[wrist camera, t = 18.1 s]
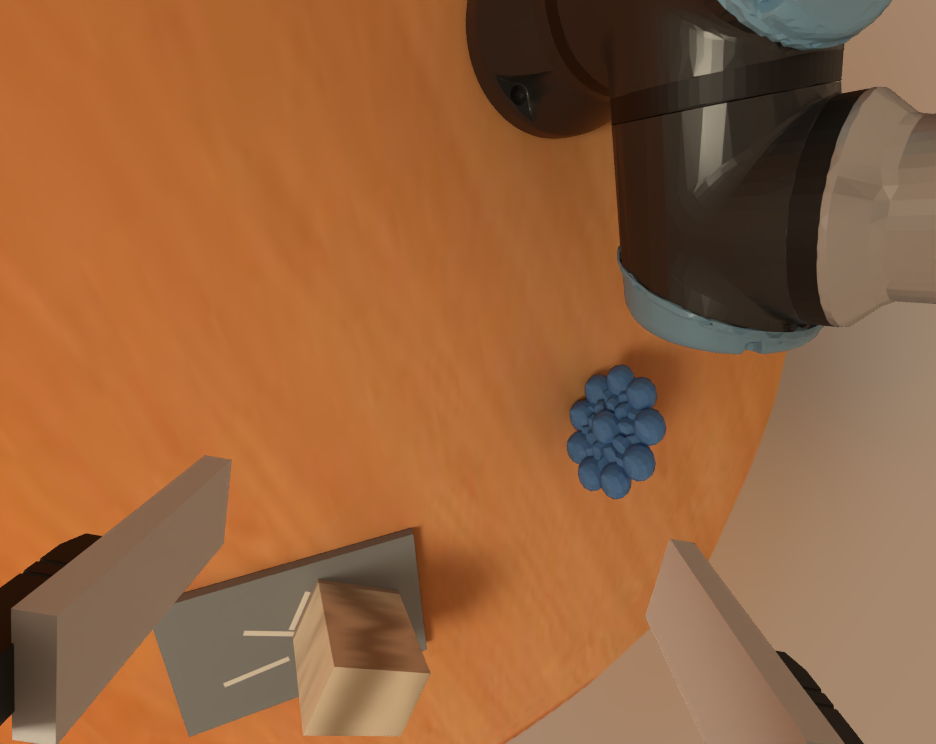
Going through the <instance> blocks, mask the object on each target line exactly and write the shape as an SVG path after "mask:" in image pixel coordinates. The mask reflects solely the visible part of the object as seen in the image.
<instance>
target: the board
mask: <svg viewBox="0 0 936 744" xmlns="http://www.w3.org/2000/svg"><path fill="white" fill-rule="evenodd" d="M318 579H320V580H327V581H334V582H341V583H348V584H355V585H362V586H369V587H375V588H382V589H389V590H396V591H399V594H400V596H401V599H402V601H403V604H404V607H405V609H406V612H407V614H408V617H409V619H410V622H411V625H412V627H413V630H414V632H415V635H416V637H417V640H418V642H419V645H420V648H421V650H422V651H424V650H426V649H427V647H426V638H425V629H424V621H423V612H422V603H421V595H420V586H419V578H418V569H417V560H416V552H415V543H414V534H413V532H412V530H411V528H409V529H406V530H402V531H399V532H395V533H392V534H388V535H385V536H381V537H378V538H374V539H371V540H367V541H364V542H360V543H357V544H353V545H350V546H346V547H343V548H339V549H336V550H332V551H329V552H325V553H322V554H318V555H315V556H311V557H308V558H304V559H301V560H297V561H294V562H291V563H287V564H284V565H280V566H277V567H273V568H270V569H266V570H263V571H259V572H256V573H252V574H249V575H245V576H242V577H238V578H235V579H231V580H228V581H224V582H221V583H217V584H214V585H210V586H207V587H203V588H200V589H196V590H193V591H189V592H186V593H182V595H181V596H180V597H179V598H178V599H177V601H176V602H175V603H174V604H173V605H172V607H171V608H170V609H169V610H168V611H167V613H166V614H165V615H164V616H163V618H162V619H161V620H160V621H159V622H158V624H157V625H156V626H155V627H154V628H153V630H154V633H155V636H156V639H157V642H158V645H159V648H160V651H161V654H162V657H163V660H164V663H165V666H166V669H167V672H168V675H169V678H170V681H171V684H172V687H173V690H174V693H175V696H176V699H177V702H178V705H179V708H180V711H181V714H182V717H183V720H184V723H185V726H186V729H187V732H188V735H189V737H191V736H193V735H196V734H199V733H201V732H204V731H207V730H210V729H212V728H215V727H218V726H220V725H223V724H226V723H229V722H231V721H234V720H237V719H239V718H242V717H245V716H247V715H250V714H253V713H256V712H258V711H261V710H264V709H266V708H269V707H272V706H275V705H277V704H280V703H283V702H285V701H288V700H291V699H294V698H296V697H299V691H298V681H297V672H296V662H295V653H294V644H293V634H294V632H295V630H296V628H297V625H298V623H299V621H300V618H301V616H302V614H303V612H304V609H305V607H306V605H307V602H308V600H309V598H310V596H311V593H312V591H313V589H314V586H315V584H316V582H317V580H318Z"/></svg>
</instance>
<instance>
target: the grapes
mask: <svg viewBox="0 0 936 744" xmlns="http://www.w3.org/2000/svg"><path fill="white" fill-rule="evenodd" d="M585 395H586V398H587V400H588V401H587V400H579V401H577V402H576V403H575V404H573V406H572V408H571V409H570V420H571V424H572V425H573V426H574V428H575V429H576V430H578V431H577V432H575V433H574V434H572V435H571V436H570V438H569V439H568V441H567V451H568V455H569V457H570V458H571V460H572V461H573V462H575V463H577V464H580V465H579V467H578V476H579V480H580V482H581V484H582V485H583V487H584V488H586V489H588V490H589V491H596V490H599V489H600V488H601V487H602V490H603V491H604V492H605V494H606V495H607V496H608V497H610V498H612V499H620V498H623V497H624V496H625V495H626V494H628V492H629V490H630V488H631V479H633V480H635V481H644V480H647V479H648V478H649V477H650V476H652V475H653V472H654V470H655V465H656V463H655V459H654V455H653V452H652V451H651V450H650V448H649V447H648V446H650V445H656V444H657V443H658V442H660V441H661V440H662V439H663V437H664V435H665V431H666V425H665V421H664V418H663V416H662V415H661V414H660V413H659V411H657V410H655V409H652V407H653V406H654V405H655V403H656V400H657V392H656V388H655V385H654V384H653V383H652V382H651V380H650V379H647V378H645V377H638V378H635V377H634V373H633V372H632V370H631V369H630V368H629V367H627V366H625V365H617V366H614V367H613V368H612V369H610V371H609V373H608V374H607V377H606V376H604V375H601V374H598V375H593V376H592V377H591V378H589V379H588V381H587V382H586V384H585Z"/></svg>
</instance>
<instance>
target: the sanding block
mask: <svg viewBox="0 0 936 744" xmlns="http://www.w3.org/2000/svg"><path fill="white" fill-rule="evenodd" d="M293 644H294V653H295V662H296V672H297V681H298V691H299V700H300V710H301V719H302V729H303V735H311V736H401V734H402V732H403V730H404V728H405V726H406V724H407V722H408V720H409V718H410V715H411V713H412V711H413V709H414V707H415V705H416V703H417V701H418V699H419V697H420V695H421V693H422V690H423V688H424V686H425V684H426V682H427V680H428V678H429V676H430V674H431V673H430V671H429V668H428V666H427V663H426V660H425V658H424V655H423V653H422V650H421V648H420V645H419V642H418V640H417V637H416V635H415V632H414V630H413V627H412V625H411V622H410V619H409V617H408V614H407V612H406V609H405V607H404V604H403V601H402V599H401V596H400V594H399V591H396V590H389V589H382V588H375V587H369V586H362V585H355V584H348V583H341V582H334V581H327V580H320V579H318V580H317V582H316V584H315V586H314V589H313V591H312V593H311V596H310V598H309V600H308V602H307V605H306V607H305V609H304V612H303V614H302V616H301V618H300V621H299V623H298V625H297V628H296V630H295V632H294V634H293Z"/></svg>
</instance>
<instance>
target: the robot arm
mask: <svg viewBox="0 0 936 744" xmlns="http://www.w3.org/2000/svg"><path fill="white" fill-rule="evenodd" d="M891 1H892V0H468V3H467V12H466V34H467V43H468V49H469V54H470V59H471V62H472V66H473V69H474V72H475V74H476V77H477V79H478V82H479V84H480V86H481V88H482V90H483V91H484V93H485V95H486V96H487V98H488V100H489V101H490V102H491V104H492V105H493V106H494V108H495V109H496V110H497V111H498V112H499V113H500V114H501V115H502V116H503V117H504V118H505V119H506V120H507V121H508V122H510V123H511V124H512V125H514V126H515V127H517V128H518V129H520V130H522V131H524V132H526V133H528V134H531V135H534V136H537V137H542V138H550V139H557V138H565V137H570V136H575V135H580V134H584V133H587V132H589V131H592V130H594V129H596V128H598V127H600V126H602V125H603V124H605V123H606V122H608V121H609V120H612V125H613V126H612V137H613V151H614V165H615V179H616V194H617V208H618V222H619V236H620V246H619V247H618V250H617V261H618V264H619V266H620V270H621V272H622V276H623V285H624V294H625V301H626V304H627V307H628V308H629V310H630V312H631V314H632V316H633V317H634V318H635V320H636V321H637V322H638V323H639V324H640V325H641V326H642V327H643V328H645V329H646V330H648V331H649V332H651V333H652V334H654V335H656V336H658V337H660V338H662V339H664V340H667V341H669V342H672V343H675V344H678V345H682V346H685V347H689V348H693V349H698V350H703V351H708V352H715V353H725V354H741V353H743V352H744V350H751V351H754V352H757V353H760V354H767V353H776V352H782V351H787V350H790V349H794V348H797V347H800V346H803V345H804V344H806V343H807V342H809V341H810V340H812V339H813V338H815V337H816V336H817V335H818V333H819V331H820V330H821V329H822V328H823V327H824V326H833V327H850V326H852V325H853V324H855V323H856V322H858V321H860V320H861V319H863V318H864V317H865V316H867V315H869V314H870V313H872V312H874V311H875V310H877V309H878V308H880V307H881V306H884V305H886V304H889V303H892V302H895V301H898V302H915V303H930V304H931V303H932V304H936V114H928V113H921V112H918V111H917V110H916V109H914V108H913V107H912V106H911V105H909V104H908V103H907V102H906V101H905V100H903V99H902V98H901V97H900V96H898V95H897V94H896V93H895V92H893V91H892V90H891V89H889V88H887V87H873V88H870V89H864V90H859V91H853V92H848V93H841V81H840V80H841V76H842V64H843V51H844V43H846V42H847V41H848V40H850V39H851V38H852V37H854V36H856V35H858V34H859V33H860V32H861V31H862V30H863V29H865V28H866V27H867V26H869V25H870V24H872V23H873V22H874V21H875V20H876V19H877V18H878V17H879V16H880V15H881V14H882V12H883V11H884V10H885V9H886V8H887V7H888V5H889V4H890V3H891ZM836 81H840V82H836ZM832 82H833V83H832ZM231 461H232V460H229V459H223V458H218V457H212V456H207V455H205V456H204V457H202V458H201V459H200V460H198V461H197V462H196V463H195V464H193V465H192V466H191V467H190V468H188V469H187V470H186V471H185V472H183V473H182V474H181V475H179V476H178V477H177V478H176V479H174V480H173V481H172V482H171V483H169V484H168V485H167V486H166V487H164V488H163V489H162V490H160V491H159V492H158V493H157V494H155V495H154V496H153V497H152V498H150V499H149V500H148V501H147V502H145V503H144V504H143V505H142V506H140V507H139V508H138V509H136V510H135V511H134V512H133V513H131V514H130V515H129V516H128V517H126V518H125V519H124V520H123V521H121V522H120V523H119V524H117V525H116V526H115V527H114V528H112V529H111V530H110V531H109V532H107V533H106V534H105V535H104V536H98V535H92V534H84V535H81V536H79V537H76V538H74V539H71V540H69V541H67V542H64V543H62V544H60V545H58V546H57V547H56V548H54V549H53V550H51V551H50V552H49V553H47V554H46V555H45V556H43V557H42V558H40V561H39V562H37V561H36V562H35V563H34V564H32V565H31V566H29V567H28V568H27V569H25V570H24V572H23V574H19V575H17V576H16V577H14V578H13V579H12V580H10V581H9V582H8V583H6V584H5V585H3V586H2V587H1V588H0V726H1V724H2V723H3V722H4V721H5V720H6V719H7V718H8V717H9V716H10V715H11V714H12V740H17V741H24V742H30V743H37V744H58V743H59V742H60V741H61V739H62V738H63V737H64V736H65V735H66V733H67V732H68V731H69V730H70V729H71V727H72V726H73V725H74V724H75V723H76V721H77V720H78V719H79V718H80V716H81V715H82V714H83V713H84V712H85V710H86V709H87V708H88V707H89V706H90V704H91V703H92V702H93V701H94V700H95V698H96V697H97V696H98V695H99V694H100V692H101V691H102V690H103V689H104V688H105V686H106V685H107V684H108V683H109V681H110V680H111V679H112V678H113V677H114V675H115V674H116V673H117V672H118V671H119V669H120V668H121V667H122V666H123V665H124V663H125V662H126V661H127V660H128V659H129V657H130V656H131V655H132V654H133V653H134V651H135V650H136V649H137V648H138V646H139V645H140V644H141V643H142V642H143V640H144V639H145V638H146V637H147V636H148V634H149V633H150V632H151V631H152V630H153V628H154V627H155V626H156V625H157V624H158V622H159V621H160V620H161V619H162V618H163V616H164V615H165V614H166V613H167V611H168V610H169V609H170V608H171V607H172V605H173V604H174V603H175V602H176V601H177V599H178V598H179V597H180V596H181V595H182V593H183V592H184V591H185V590H186V589H187V587H188V586H189V585H190V584H191V582H192V581H193V580H194V579H195V578H196V576H197V575H198V574H199V573H200V572H201V570H202V569H203V568H204V567H205V566H206V564H207V563H208V562H209V561H210V560H211V558H212V557H213V556H214V555H215V554H216V552H217V551H218V550H219V549H220V547H221V546H222V545H223V544H224V534H225V524H226V513H227V503H228V492H229V482H230V471H231ZM645 618H646V620H647V622H648V624H649V626H650V628H651V630H652V633H653V635H654V636H655V639H656V641H657V643H658V645H659V647H660V649H661V652H662V654H663V656H664V658H665V660H666V662H667V664H668V667H669V669H670V671H671V673H672V675H673V677H674V680H675V681H676V684H677V686H678V688H679V690H680V692H681V694H682V696H683V699H684V701H685V703H686V705H687V707H688V709H689V712H690V714H691V716H692V718H693V720H694V722H695V724H696V726H697V729H698V731H699V733H700V735H701V737H702V739H703V741H704V744H864V743H863V742H862V741H861V740H860V738H859V737H858V736H857V734H856V733H855V732H854V731H853V729H852V728H851V727H850V725H849V724H848V723H847V722H846V721H845V719H844V718H843V717H842V715H841V714H840V713H839V712H838V710H836V709H834V706H833V704H832V703H831V701H830V700H829V699H828V698H827V696H826V695H825V694H824V693H821V689H820V687H819V686H818V685H817V684H816V682H815V681H814V680H813V679H812V677H811V676H810V675H809V673H808V672H807V671H806V670H805V669H804V668H803V667H802V666H800V665H799V664H798V663H797V662H796V661H794V660H793V659H792V658H791V657H790V656H789V655H787V654H786V653H785V652H780V651H775V650H774V649H773V647H772V646H771V645H770V643H769V642H768V641H767V639H766V638H765V637H764V635H763V634H762V633H761V631H760V630H759V629H758V627H757V626H756V625H755V623H754V622H753V621H752V619H751V618H750V617H749V615H748V614H747V613H746V611H745V610H744V609H743V607H742V606H741V605H740V604H739V602H738V601H737V600H736V598H735V597H734V595H733V594H732V593H731V591H730V590H729V589H728V587H727V586H726V585H725V583H724V582H723V581H722V579H721V578H720V577H719V575H718V574H717V573H716V571H715V570H714V569H713V567H712V566H711V565H710V563H709V562H708V561H707V559H706V558H705V557H704V555H703V554H702V553H701V551H700V550H699V549H698V547H697V546H696V545H695V543H691V542H685V541H680V540H674V539H669V543H668V546H667V549H666V552H665V555H664V558H663V562H662V565H661V568H660V571H659V574H658V578H657V581H656V584H655V587H654V590H653V593H652V597H651V600H650V603H649V606H648V609H647V612H646V616H645Z"/></svg>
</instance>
